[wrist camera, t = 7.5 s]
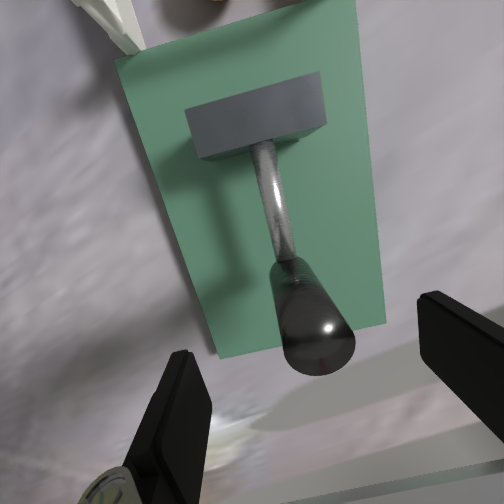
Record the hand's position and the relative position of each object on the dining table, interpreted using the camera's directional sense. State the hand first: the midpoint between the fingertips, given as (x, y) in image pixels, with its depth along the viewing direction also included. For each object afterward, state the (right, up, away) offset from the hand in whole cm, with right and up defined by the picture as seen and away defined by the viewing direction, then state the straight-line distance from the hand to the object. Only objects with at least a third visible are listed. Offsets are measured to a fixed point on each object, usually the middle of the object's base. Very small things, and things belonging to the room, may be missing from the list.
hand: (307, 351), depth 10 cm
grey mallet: (-1, +8, +9) cm, 12 cm away
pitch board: (-1, +8, +11) cm, 13 cm away
